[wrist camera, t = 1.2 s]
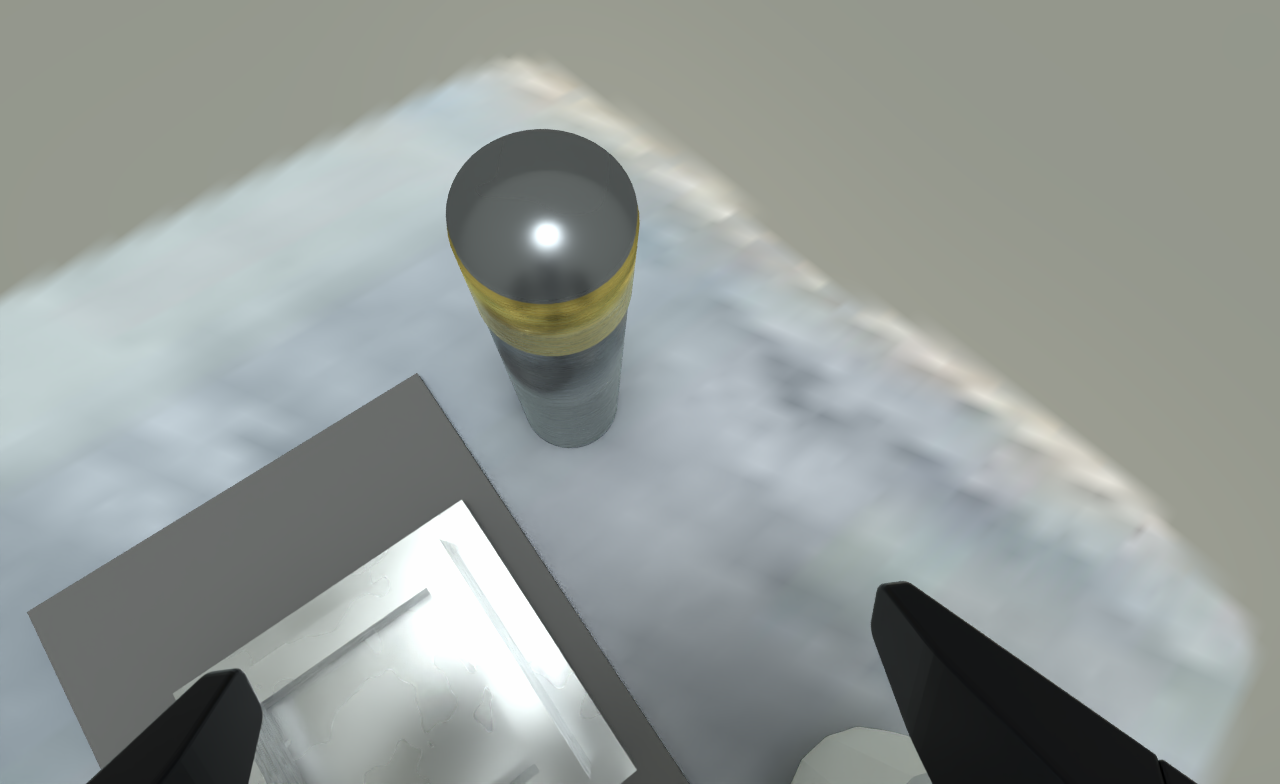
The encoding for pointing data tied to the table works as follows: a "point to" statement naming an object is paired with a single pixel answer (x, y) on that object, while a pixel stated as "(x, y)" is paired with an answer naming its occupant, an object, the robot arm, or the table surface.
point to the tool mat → (297, 572)
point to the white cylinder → (862, 759)
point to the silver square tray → (424, 677)
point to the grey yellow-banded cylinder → (550, 272)
